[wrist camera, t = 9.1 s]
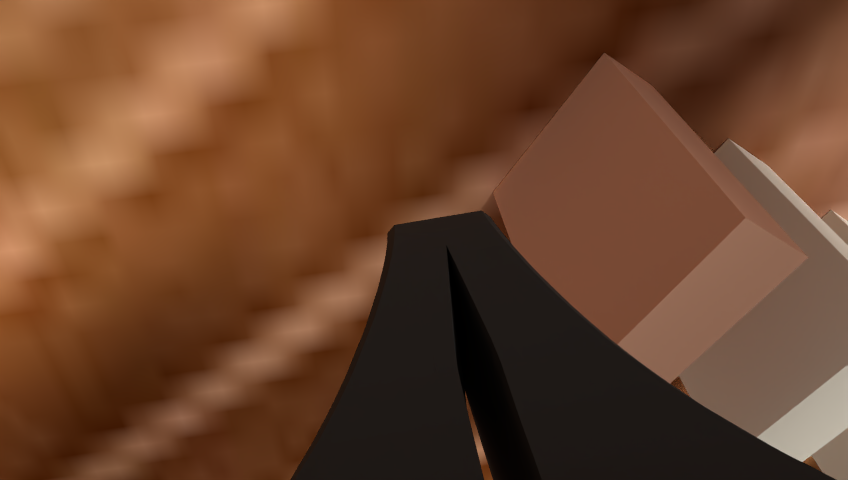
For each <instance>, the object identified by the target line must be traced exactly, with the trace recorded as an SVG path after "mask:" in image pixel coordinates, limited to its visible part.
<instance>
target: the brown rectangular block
mask: <svg viewBox="0 0 848 480" xmlns="http://www.w3.org/2000/svg"><path fill="white" fill-rule="evenodd" d="M493 194H494V197H495V200H496V203H497V205H498V208H499V211H500V214H501V216H502V219H503V222H504V225H505V227H506V230H507V233H508V236H509V238H510V241H511V244H512V245H513V246H514V247H515V248H516V249H517V251H518V252H519V253H520V254H521V255H522V256H523V257H524V258H525V259H526V260H527V262H528V263H529V264H530V265H531V266H532V267H533V268H534V269H535V270H536V271H537V272H538V273H539V274H540V275H541V276H542V277H543V278H544V279H545V280H546V281H547V282H548V283H549V284H550V285H551V286H552V287H553V288H554V289H555V290H556V291H557V292H558V293H559V294H560V295H561V296H562V297H563V298H564V299H565V300H566V301H568V302H569V303H570V304H571V305H572V306H573V307H574V308H575V309H576V310H577V311H579V312H580V313H581V314H582V315H583V316H584V317H585V318H586V319H588V320H589V321H590V322H591V323H592V324H593V325H595V326H596V327H597V328H598V329H599V330H600V331H602V332H603V333H604V334H605V335H606V336H607V337H609V338H610V339H611V340H612V341H614V342H615V343H616V344H617V345H619V346H620V347H621V348H622V349H624V350H625V351H626V352H627V353H629V354H630V355H631V356H633V357H634V358H635V359H636V360H638V361H639V362H640V363H642V364H643V365H645V366H646V367H647V368H649V369H650V370H652V371H653V372H654V373H656V374H657V375H658V376H660V377H661V378H663V379H664V380H665V381H667V382H668V383H671V382H672V381H673V380H674V379H676V378H677V377H678V376H679V375H680V374H681V373H682V372H683V371H684V370H685V369H687V368H688V367H689V366H690V365H691V364H692V363H693V362H694V361H695V360H696V359H698V358H699V357H700V356H701V355H702V354H703V353H704V352H705V351H706V350H707V349H709V348H710V347H711V346H712V345H713V344H714V343H715V342H716V341H717V340H718V339H720V338H721V337H722V336H723V335H724V334H725V333H726V332H727V331H728V330H729V329H731V328H732V327H733V326H734V325H735V324H736V323H737V322H738V321H739V320H740V319H741V318H743V317H744V316H745V315H746V314H747V313H748V312H749V311H750V310H751V309H752V308H754V307H755V306H756V305H757V304H758V303H759V302H760V301H761V300H762V299H763V298H765V297H766V296H767V295H768V294H769V293H770V292H771V291H772V290H773V289H774V288H776V287H777V286H778V285H779V284H780V283H781V282H782V281H783V280H784V279H785V278H787V277H788V276H789V275H790V274H791V273H792V272H793V271H794V270H795V269H796V268H798V267H799V266H800V265H801V264H802V263H803V262H804V261H805V260H806V259H807V258H809V257H808V256H807V255H806V254H805V253H804V252H803V251H802V250H801V249H800V248H799V246H798V245H797V244H796V243H795V242H794V241H793V240H792V239H791V238H790V237H789V235H788V234H787V233H786V232H785V231H784V230H783V229H782V228H781V227H780V226H779V224H778V223H777V222H776V221H775V220H774V219H773V218H772V217H771V216H770V215H769V213H768V212H767V211H766V210H765V209H764V208H763V207H762V206H761V205H760V204H759V202H758V201H757V200H756V199H755V198H754V197H753V196H752V195H751V194H750V193H749V191H748V190H747V189H746V188H745V187H744V186H743V185H742V184H741V183H740V182H739V180H738V179H737V178H736V177H735V176H734V175H733V174H732V173H731V172H730V171H729V169H728V168H727V167H726V166H725V165H724V164H723V163H722V162H721V161H720V160H719V158H718V157H717V156H716V155H715V154H714V153H713V152H712V151H711V150H710V149H709V148H708V146H707V145H706V144H705V143H704V142H703V141H702V140H701V139H700V138H699V137H698V135H697V134H696V133H695V132H694V131H693V130H692V129H691V128H690V127H689V126H688V124H687V123H686V122H685V121H684V120H683V119H682V118H681V117H680V116H679V115H678V113H677V112H676V111H675V110H674V109H673V108H672V107H671V106H670V105H669V104H668V102H667V101H666V100H665V99H664V98H663V97H662V96H661V95H660V94H659V93H658V91H657V90H656V89H655V88H654V87H653V86H652V85H651V84H649V83H648V82H646V81H645V80H643V79H642V78H641V77H639V76H638V75H636V74H635V73H633V72H632V71H630V70H629V69H627V68H626V67H625V66H623V65H622V64H620V63H619V62H617V61H616V60H614V59H613V58H611V57H610V56H608V55H607V54H606V53H603V55H602V56H601V57H600V58H599V60H598V61H597V62H596V63H595V65H594V66H593V67H592V69H591V70H590V71H589V72H588V74H587V75H586V76H585V77H584V79H583V80H582V81H581V82H580V84H579V85H578V86H577V87H576V89H575V90H574V91H573V92H572V94H571V95H570V96H569V97H568V99H567V100H566V101H565V102H564V104H563V105H562V106H561V107H560V109H559V110H558V111H557V113H556V114H555V115H554V116H553V118H552V119H551V120H550V121H549V123H548V124H547V125H546V126H545V128H544V129H543V130H542V131H541V133H540V134H539V135H538V136H537V138H536V139H535V140H534V141H533V143H532V144H531V145H530V146H529V148H528V149H527V150H526V151H525V153H524V154H523V155H522V157H521V158H520V159H519V160H518V162H517V163H516V164H515V165H514V167H513V168H512V169H511V170H510V172H509V173H508V174H507V175H506V177H505V178H504V179H503V180H502V182H501V183H500V184H499V185H498V187H497V188H496V189H495V190H494V192H493Z"/></svg>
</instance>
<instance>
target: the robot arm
mask: <svg viewBox="0 0 848 480" xmlns="http://www.w3.org/2000/svg"><path fill="white" fill-rule="evenodd" d="M465 392H466V395H467V398H468V401H469V405H470V408H471V411H472V414H473V417H474V420H475V424H476V427H477V430H478V433H479V436H480V440H481V443H482V446H483V449H484V452H485V455H486V458H487V462H488V465H489V468H490V471H491V474H492V477H493V480H836V479H834V478H832V477H830V476H829V475H827V474H825V473H823V472H821V471H819V470H817V469H815V468H813V467H811V466H809V465H807V464H805V463H803V462H801V461H799V460H797V459H795V458H793V457H791V456H789V455H787V454H785V453H783V452H782V451H780V450H778V449H776V448H774V447H773V446H771V445H769V444H767V443H766V442H764V441H762V440H760V439H759V438H757V437H755V436H754V435H752V434H750V433H749V432H747V431H745V430H743V429H742V428H740V427H738V426H737V425H735V424H733V423H732V422H730V421H728V420H726V419H725V418H723V417H721V416H720V415H718V414H716V413H714V412H713V411H711V410H709V409H708V408H706V407H704V406H703V405H701V404H700V403H698V402H697V401H695V400H694V399H692V398H691V397H689V396H688V395H686V394H685V393H683V392H682V391H680V390H679V389H677V388H676V387H674V386H673V385H671V384H670V383H668V382H667V381H665V380H664V379H663V378H661V377H660V376H658V375H657V374H656V373H654V372H653V371H652V370H650V369H649V368H647V367H646V366H645V365H643V364H642V363H640V362H639V361H638V360H636V359H635V358H634V357H633V356H631V355H630V354H629V353H627V352H626V351H625V350H624V349H622V348H621V347H620V346H619V345H617V344H616V343H615V342H614V341H612V340H611V339H610V338H609V337H607V336H606V335H605V334H604V333H603V332H602V331H600V330H599V329H598V328H597V327H596V326H595V325H593V324H592V323H591V322H590V321H589V320H588V319H586V318H585V317H584V316H583V315H582V314H581V313H580V312H579V311H577V310H576V309H575V308H574V307H573V306H572V305H571V304H570V303H569V302H568V301H566V300H565V299H564V298H563V297H562V296H561V295H560V294H559V293H558V292H557V291H556V290H555V289H554V288H553V287H552V286H551V285H550V284H549V283H548V282H547V281H546V280H545V279H544V278H543V277H542V276H541V275H540V274H539V273H538V272H537V271H536V270H535V269H534V268H533V267H532V266H531V265H530V264H529V263H528V262H527V260H526V259H525V258H524V257H523V256H522V255H521V254H520V253H519V252H518V251H517V249H516V248H515V247H514V246H513V245H512V244H511V243H510V241H509V240H508V239H507V238H506V237H505V235H504V234H503V233H502V232H501V231H500V229H499V228H498V227H497V225H496V224H495V223H494V222H493V220H492V219H491V217H490V216H488V215H487V214H486V213H484V212H483V211H476V212H470V213H464V214H458V215H452V216H446V217H440V218H434V219H428V220H422V221H416V222H410V223H404V224H398V225H394V226H393V227H392V229H391V230H390V231H389V232H388V237H387V250H386V256H385V262H384V266H383V271H382V275H381V278H380V282H379V286H378V290H377V293H376V296H375V299H374V302H373V306H372V309H371V312H370V315H369V318H368V321H367V324H366V327H365V330H364V333H363V335H362V338H361V340H360V343H359V345H358V347H357V350H356V352H355V355H354V357H353V360H352V362H351V365H350V367H349V369H348V372H347V374H346V377H345V379H344V381H343V383H342V386H341V388H340V390H339V392H338V394H337V396H336V398H335V400H334V402H333V404H332V406H331V408H330V410H329V412H328V414H327V416H326V418H325V420H324V422H323V424H322V426H321V428H320V429H319V431H318V433H317V435H316V437H315V439H314V441H313V442H312V444H311V446H310V448H309V449H308V451H307V453H306V454H305V456H304V458H303V459H302V461H301V463H300V464H299V466H298V468H297V470H296V471H295V473H294V475H293V476H292V478H291V480H484V478H483V474H482V470H481V465H480V461H479V457H478V453H477V449H476V445H475V441H474V437H473V432H472V428H471V424H470V420H469V416H468V411H467V407H466V397H465Z"/></svg>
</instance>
